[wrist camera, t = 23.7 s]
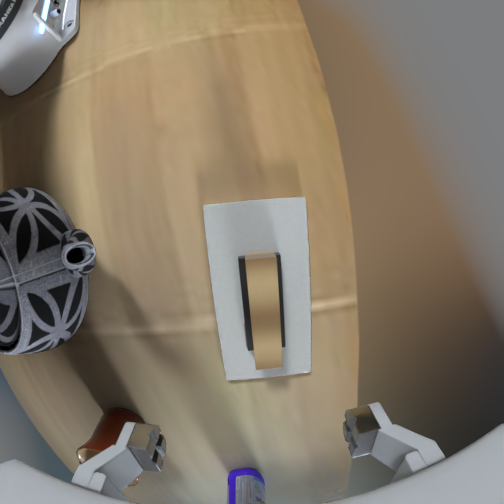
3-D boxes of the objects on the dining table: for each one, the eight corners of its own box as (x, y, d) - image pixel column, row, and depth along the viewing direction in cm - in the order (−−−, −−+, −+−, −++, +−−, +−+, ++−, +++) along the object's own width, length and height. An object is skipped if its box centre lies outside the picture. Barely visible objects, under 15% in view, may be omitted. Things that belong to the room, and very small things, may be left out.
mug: (126, 394, 31) (100, 444, 21) (166, 433, 33) (151, 484, 23) (81, 411, 32) (55, 451, 22) (117, 445, 34) (99, 487, 24)
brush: (237, 250, 27) (236, 260, 23) (278, 247, 27) (284, 255, 23) (247, 349, 29) (248, 370, 25) (284, 345, 29) (290, 366, 25)
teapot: (176, 313, 29) (129, 401, 14) (14, 337, 30) (-42, 380, 15) (132, 143, 26) (45, 105, 11) (-20, 223, 26) (-87, 238, 11)
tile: (203, 205, 27) (202, 205, 26) (303, 196, 27) (305, 196, 26) (226, 375, 31) (226, 381, 30) (309, 367, 31) (310, 372, 30)
